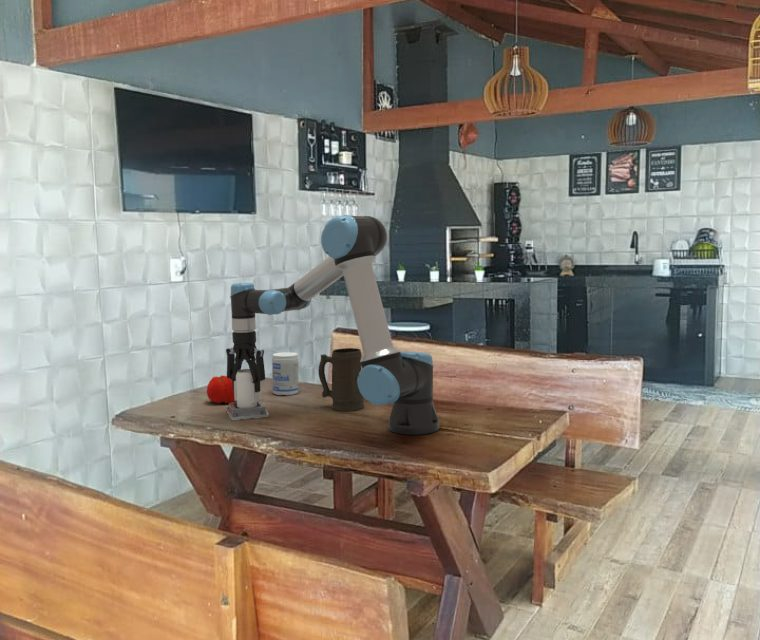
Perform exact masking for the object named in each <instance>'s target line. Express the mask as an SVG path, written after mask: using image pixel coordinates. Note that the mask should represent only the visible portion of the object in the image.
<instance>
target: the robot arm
mask: <svg viewBox="0 0 760 640" xmlns="http://www.w3.org/2000/svg"><path fill="white" fill-rule="evenodd" d="M320 240H321V241H320V244H321V248H322V250H323V252H324V253H325V254H326V255H328V256H327V257H325V259H324V260H322V261H321V262H319V263H318V264H317V265H316V266H314V267H313V268H311V269H310V270H309V271H308V272H306V273H305V274H304V275H303V276H302V277H300V278H299V279H297V280H296V281H295V282H294V283H292V284H291V285H290V286H288V287H282V288H273V289H272V288H271V289H255V284H254V283H253V282H237V283H232V284H231V286H230V297H229V298H230V306H231V307H230V309H231V330H232V331H233V332H232V333H231V334H232V343H233V347H228V348H226V350H225V353H226V376H227V378H230V379H231V380H232V385H233V386H232V387H233V390H234V398H235V401H234V402H237V394H236V374H237V370H241V369H242V366H243V362H244V361H246V363H247V364H248V369H250V372H251V375H252V378H253V382H252V383H251V385H252V403H255V402H258V401H259V400H260V392H261V382H263V381H264V380H266V372H265V361H264V353H265V350H264V349H258V348H257V346H256V342H257V331H256V328H257V325H256V324H257V323H256V314H260V315H268V316H272V315H280V314H281V313H283V312H291V311H300V310H304V309H306V308H308V307H309V306H310V303H311V302H312V299H313V298H315V297H317V296H318V295H319V294H320V293H322V292H323V291H325V290H326V289H328V287H330V286H331V285H332V284H334V283H335V282H337V281H338V280H340V279H341V278H342V277H343V280H344V282H345V286H346V290H347V294H348V299H349V302H350V306H351V310H352V313H353V317H354V321H355V325H356V329H357V332H358V336H359V340H360V344H361V348H362V352H363V354H362V356H361V360H360V363H361V371H360V373H359V376H358V379H357V383H358V388H359V391H360V393H361V394H362V396H363V397H364V398H363V399H364V400H365V401H367V402H369V403H370V404H372V405H374V406H385V405H390V404H391V405H393V406H392V408H391V411H390V415H389V416H388V417H389V418H388V420H387V421H388V422H387V423H388V424H387V425H388V428H387V429H388V430H389V431H390V432H392V433H396V434H400V435H412V436H414V435H415V436H417V435H427V434H432V433H435V432H437V431H438V430H439V429H440V420H439V417H438V414H437V411H436V407H435V405H434V361H433V356H432V354H430V353H427V352H422V351H421V352H419V351H405V350H403V351H400V349H398V348H396V347H395V346H394V345H393V340H392V336H391V332H390V329H389V324H388V321H387V317H386V314H385V310H384V306H383V301H382V296H381V295H380V290H379V285H378V283H377V278H376V275H375V271H374V268H373V263H374V261H375V259H376V256H378V255H379V254H380V253H381V252H382V251H383V250H384V249H385V247H386V245H387V242H388V241H387V240H388V233H387V229H386V227H385V224H383V223H382V221H381V220H379V219H378V218H376V217H374V216H369V215H349V214H344V215H339V216H335V217H332V218H331V219H329V220H328V221H327V222H326V223H325V225H324V227H323V229H322V231H321V237H320Z"/></svg>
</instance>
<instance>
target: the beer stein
mask: <svg viewBox="0 0 760 640" xmlns="http://www.w3.org/2000/svg"><path fill="white" fill-rule="evenodd" d="M331 353H332V354H331V355H330V356H329V355H327V354H325V353H323V354H320V362H319V364H318V370H317V371H318V378H319V380H320V381H319V382H320V383H321V386H322V388H323V391H322V392H321V396H322V398H327V397H329V398H331V399H332V406H331V407H332V410H334V411H338V412H340V411H341V412H352V411H354V412H355V411H358V410H362V409H364V408H365V404H364V399H365V398H364V397H363V396H362V394H361V393H360V391H359V388H358V383H357V379H358V376H359V373H360V371H361V370H362V367H361V363H360V360H361V358H362V357H363V354H362V350H361V349H360V348H358V347H357V348H353V347H347V348H346V347H345V348H337V349H336V348H335V349H333V350H332V352H331ZM327 363H330V364H331V366H332V367H331V389H330V388H329V385H328V382H327V378H326V374H325V373H326V369H325V367H326V364H327Z"/></svg>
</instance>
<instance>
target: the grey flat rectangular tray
mask: <svg viewBox="0 0 760 640" xmlns="http://www.w3.org/2000/svg"><path fill="white" fill-rule="evenodd" d="M225 411H227V412H226V413H227V416H228V418H229V419H230V421H231V420H233V421H241V420H240V419H243V420H251V419H250V418H254V419H263V417H265V418H269V417H270V414H269V413H270V412H268V411H267V408H266V406H265V404H264V403H263V401H261V400H260V399H259V401H258V402H257V406H256V407H249V408H238V407H237V401H234V402H232V403H229V404H228V407H226V408H225Z"/></svg>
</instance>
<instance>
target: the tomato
mask: <svg viewBox="0 0 760 640" xmlns="http://www.w3.org/2000/svg"><path fill="white" fill-rule="evenodd" d="M232 386H233V385H232V380H231V379H230V378H227V375H220V376H213V377H212V378H211V379H210V380H209V381H208V384H207V388H206V395H207V398H208V399H209V400H210V401H211V402H213V403H215V404H221V403H225V404H227V403H233V402H236V401H235V398H234V390H233V387H232Z"/></svg>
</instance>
